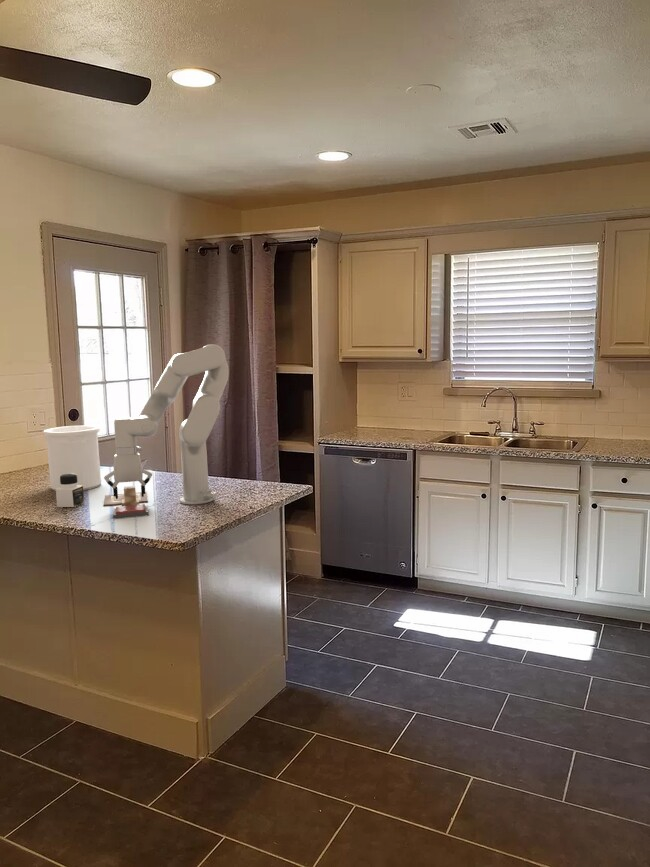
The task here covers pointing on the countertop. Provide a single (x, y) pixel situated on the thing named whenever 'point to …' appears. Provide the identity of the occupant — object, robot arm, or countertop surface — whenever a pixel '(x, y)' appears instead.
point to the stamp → (130, 496)
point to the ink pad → (130, 511)
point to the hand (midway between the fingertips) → (129, 496)
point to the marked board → (113, 501)
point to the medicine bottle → (69, 491)
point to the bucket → (74, 455)
